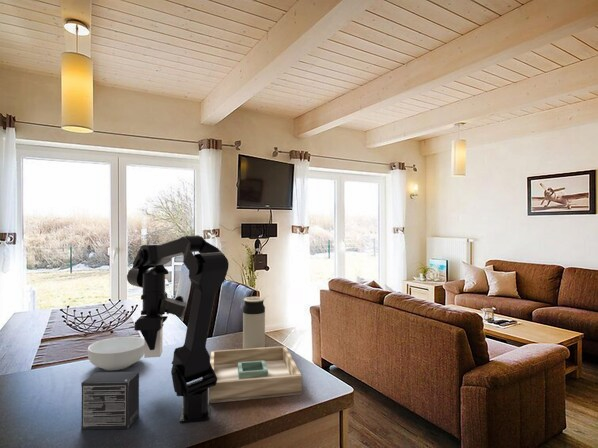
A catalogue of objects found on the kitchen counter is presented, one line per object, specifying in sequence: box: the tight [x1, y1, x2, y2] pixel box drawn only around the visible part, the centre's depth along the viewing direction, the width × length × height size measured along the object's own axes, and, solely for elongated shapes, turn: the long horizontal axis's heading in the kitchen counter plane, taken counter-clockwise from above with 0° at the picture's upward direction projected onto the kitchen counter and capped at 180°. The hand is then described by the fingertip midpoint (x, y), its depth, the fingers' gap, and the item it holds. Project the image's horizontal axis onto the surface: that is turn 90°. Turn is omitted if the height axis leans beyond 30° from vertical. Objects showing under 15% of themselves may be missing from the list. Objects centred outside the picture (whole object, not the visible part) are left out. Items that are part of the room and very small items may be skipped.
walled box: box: [208, 345, 303, 404], centre depth 106 cm, size 24×24×5 cm
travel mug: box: [242, 296, 266, 349], centre depth 133 cm, size 8×8×18 cm
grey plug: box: [143, 326, 164, 359], centre depth 99 cm, size 4×4×8 cm
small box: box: [80, 371, 140, 431], centre depth 83 cm, size 11×6×10 cm, turn 92°
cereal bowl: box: [87, 336, 144, 372], centre depth 116 cm, size 17×17×7 cm
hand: (153, 347), depth 99 cm, fingers closed on grey plug, 4 cm apart
